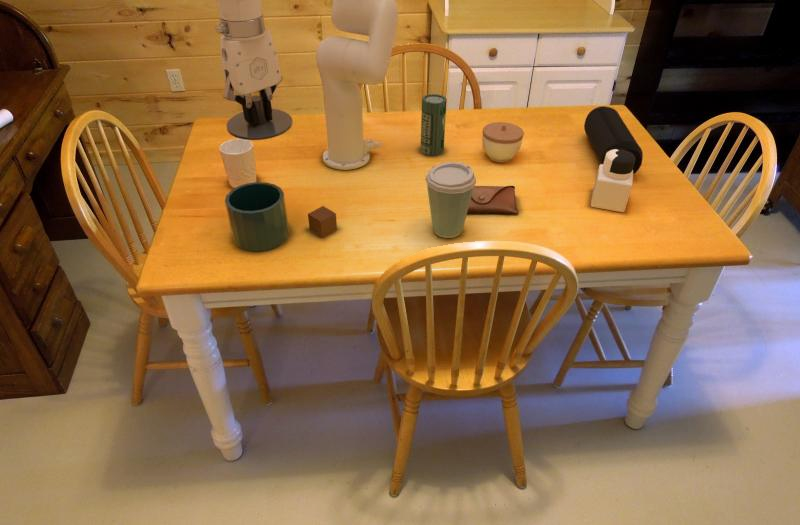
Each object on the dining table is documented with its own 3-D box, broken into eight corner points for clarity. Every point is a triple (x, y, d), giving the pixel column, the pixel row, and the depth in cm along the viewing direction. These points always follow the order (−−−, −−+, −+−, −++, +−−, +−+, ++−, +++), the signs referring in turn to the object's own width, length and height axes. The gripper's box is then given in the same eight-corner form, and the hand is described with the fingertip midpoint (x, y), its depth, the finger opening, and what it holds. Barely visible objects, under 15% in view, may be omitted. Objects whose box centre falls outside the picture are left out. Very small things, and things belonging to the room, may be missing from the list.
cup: (279, 214, 130) (274, 177, 124) (296, 243, 122) (291, 204, 115) (228, 227, 126) (219, 189, 120) (241, 258, 118) (232, 218, 111)
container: (625, 196, 137) (639, 148, 129) (624, 213, 132) (639, 164, 124) (592, 190, 139) (605, 143, 131) (590, 207, 134) (603, 158, 126)
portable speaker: (639, 182, 143) (650, 146, 137) (600, 181, 143) (609, 145, 137) (612, 136, 163) (621, 103, 156) (578, 135, 163) (586, 102, 157)
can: (447, 152, 154) (450, 100, 145) (429, 158, 152) (432, 105, 142) (434, 143, 158) (436, 92, 149) (416, 149, 155) (418, 97, 146)
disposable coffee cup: (436, 248, 121) (439, 189, 111) (415, 222, 128) (417, 164, 119) (479, 237, 124) (486, 178, 114) (456, 212, 132) (461, 154, 122)
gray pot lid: (281, 109, 120) (277, 80, 116) (301, 134, 111) (298, 104, 107) (221, 121, 115) (214, 92, 111) (236, 148, 107) (230, 118, 103)
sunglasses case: (444, 214, 130) (444, 185, 129) (440, 212, 137) (440, 185, 136) (521, 213, 130) (521, 184, 129) (514, 212, 137) (514, 184, 136)
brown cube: (324, 221, 128) (323, 205, 125) (337, 229, 126) (336, 213, 123) (309, 229, 126) (307, 213, 123) (322, 238, 123) (320, 221, 120)
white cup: (251, 192, 138) (244, 155, 131) (221, 188, 139) (213, 152, 132) (264, 176, 144) (258, 140, 137) (235, 172, 145) (228, 137, 138)
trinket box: (508, 145, 158) (512, 113, 152) (526, 163, 150) (532, 131, 144) (473, 150, 155) (476, 119, 149) (490, 169, 147) (494, 136, 141)
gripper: (215, 42, 94) (235, 141, 106) (292, 20, 103) (303, 114, 115) (191, 32, 98) (213, 128, 110) (267, 11, 107) (280, 103, 119)
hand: (259, 120), depth 112 cm, fingers closed on gray pot lid, 2 cm apart
